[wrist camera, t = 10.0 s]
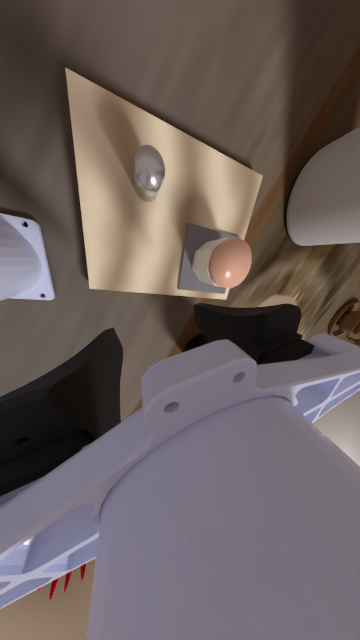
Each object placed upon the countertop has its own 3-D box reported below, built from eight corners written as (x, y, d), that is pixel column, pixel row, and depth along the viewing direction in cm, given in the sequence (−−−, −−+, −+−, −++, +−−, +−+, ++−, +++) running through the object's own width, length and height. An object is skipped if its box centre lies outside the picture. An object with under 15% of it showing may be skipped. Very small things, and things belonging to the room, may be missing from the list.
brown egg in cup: (190, 279, 19) (207, 285, 14) (197, 239, 17) (219, 232, 12) (219, 283, 20) (242, 290, 16) (228, 247, 18) (258, 244, 14)
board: (92, 286, 17) (89, 288, 16) (73, 89, 11) (65, 67, 10) (221, 297, 24) (226, 299, 23) (253, 181, 18) (262, 175, 16)
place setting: (366, 289, 41) (399, 294, 35) (346, 336, 51) (370, 345, 46) (322, 315, 39) (351, 323, 34) (311, 358, 49) (332, 370, 44)
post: (133, 197, 14) (134, 180, 11) (134, 166, 13) (134, 138, 10) (157, 205, 14) (163, 191, 11) (158, 176, 13) (166, 152, 10)
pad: (177, 288, 19) (178, 289, 19) (187, 223, 16) (188, 222, 16) (223, 293, 22) (224, 293, 22) (238, 238, 19) (240, 237, 18)
